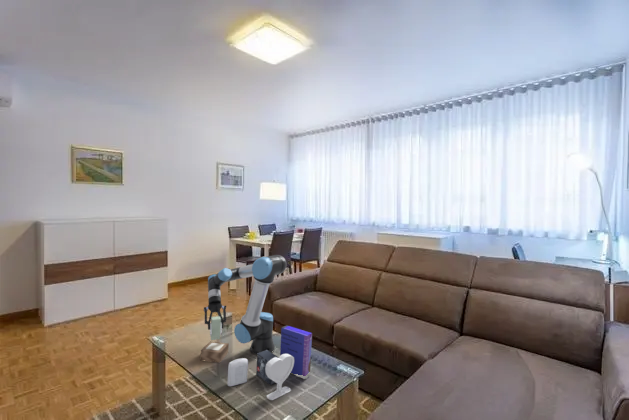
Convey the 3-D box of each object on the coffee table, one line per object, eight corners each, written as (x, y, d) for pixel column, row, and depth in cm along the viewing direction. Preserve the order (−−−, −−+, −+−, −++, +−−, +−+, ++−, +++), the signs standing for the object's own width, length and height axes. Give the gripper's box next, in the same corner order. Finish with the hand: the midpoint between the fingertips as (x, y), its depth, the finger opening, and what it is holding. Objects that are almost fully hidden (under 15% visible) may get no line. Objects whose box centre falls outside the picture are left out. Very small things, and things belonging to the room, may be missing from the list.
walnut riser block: (228, 353, 195) (228, 343, 195) (220, 362, 183) (220, 352, 183) (209, 350, 196) (210, 341, 196) (200, 360, 184) (200, 349, 184)
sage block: (219, 335, 193) (219, 316, 192) (219, 339, 188) (220, 319, 188) (210, 336, 191) (211, 316, 191) (211, 340, 186) (212, 320, 186)
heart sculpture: (269, 401, 150) (271, 364, 149) (263, 396, 153) (264, 360, 153) (294, 389, 161) (295, 354, 160) (287, 384, 164) (289, 350, 164)
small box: (255, 374, 172) (256, 353, 172) (265, 370, 177) (266, 349, 177) (270, 385, 163) (271, 362, 163) (280, 380, 168) (281, 358, 168)
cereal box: (309, 375, 174) (312, 332, 173) (305, 379, 170) (307, 335, 169) (284, 365, 183) (286, 324, 182) (279, 369, 179) (281, 327, 178)
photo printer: (245, 378, 169) (246, 355, 168) (248, 382, 165) (249, 358, 165) (226, 383, 163) (227, 359, 163) (229, 387, 159) (230, 363, 159)
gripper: (228, 299, 207) (230, 335, 192) (199, 301, 200) (199, 338, 185) (230, 294, 202) (232, 329, 187) (199, 296, 195) (200, 333, 180)
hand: (216, 334), depth 186 cm, fingers closed on sage block, 5 cm apart
